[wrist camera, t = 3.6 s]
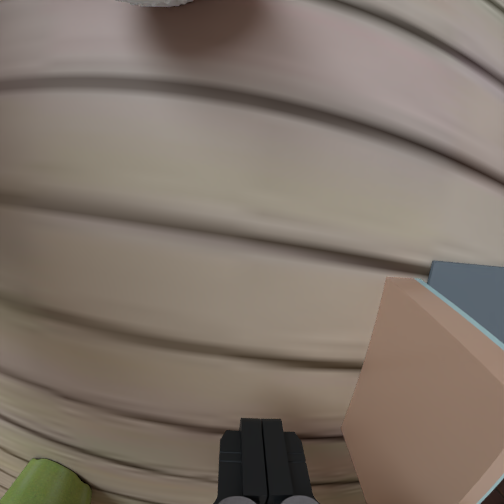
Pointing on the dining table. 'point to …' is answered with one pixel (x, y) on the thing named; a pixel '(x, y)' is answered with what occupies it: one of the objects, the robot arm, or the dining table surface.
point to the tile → (427, 403)
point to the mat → (473, 291)
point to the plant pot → (47, 485)
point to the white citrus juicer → (156, 2)
